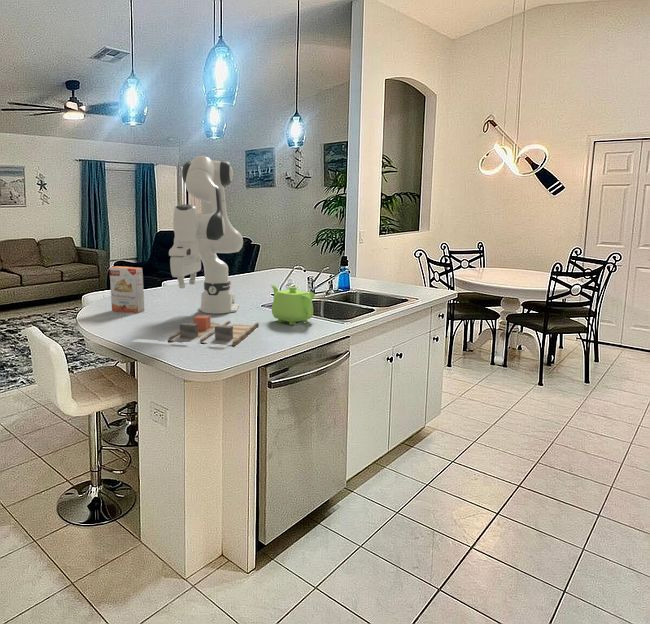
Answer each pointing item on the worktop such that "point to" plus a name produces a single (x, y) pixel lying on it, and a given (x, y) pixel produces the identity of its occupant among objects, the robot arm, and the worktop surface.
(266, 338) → the worktop surface
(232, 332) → the strip
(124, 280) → the cracker box
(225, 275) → the robot arm
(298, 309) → the teapot
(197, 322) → the cube
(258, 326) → the lane rails
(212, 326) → the strip
